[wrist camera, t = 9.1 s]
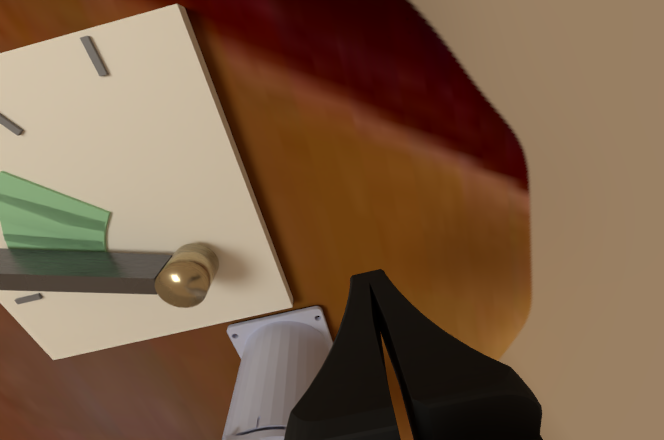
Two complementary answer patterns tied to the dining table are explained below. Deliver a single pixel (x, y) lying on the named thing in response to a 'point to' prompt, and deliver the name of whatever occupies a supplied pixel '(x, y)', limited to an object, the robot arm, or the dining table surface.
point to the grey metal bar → (113, 272)
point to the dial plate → (127, 180)
